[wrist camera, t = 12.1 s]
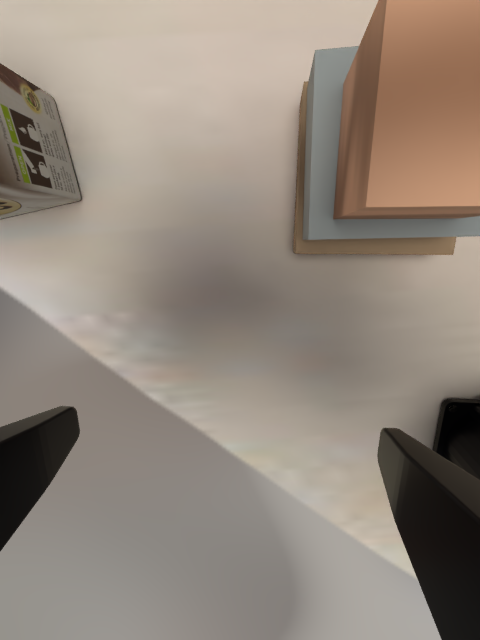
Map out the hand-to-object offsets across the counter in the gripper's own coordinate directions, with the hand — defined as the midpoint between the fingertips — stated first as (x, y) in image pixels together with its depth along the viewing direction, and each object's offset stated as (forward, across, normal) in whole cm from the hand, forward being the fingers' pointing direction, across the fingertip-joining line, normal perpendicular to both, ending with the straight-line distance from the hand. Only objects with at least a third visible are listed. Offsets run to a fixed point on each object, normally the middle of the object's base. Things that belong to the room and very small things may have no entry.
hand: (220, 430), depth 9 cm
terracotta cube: (+6, -6, -9) cm, 13 cm away
